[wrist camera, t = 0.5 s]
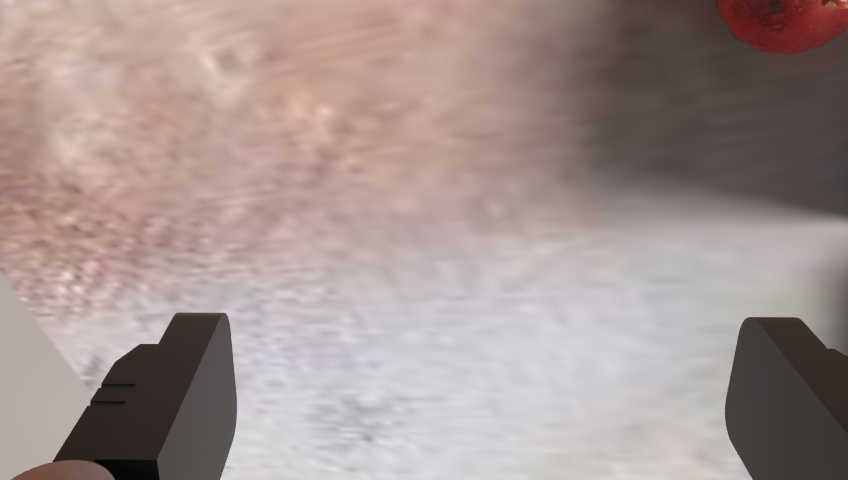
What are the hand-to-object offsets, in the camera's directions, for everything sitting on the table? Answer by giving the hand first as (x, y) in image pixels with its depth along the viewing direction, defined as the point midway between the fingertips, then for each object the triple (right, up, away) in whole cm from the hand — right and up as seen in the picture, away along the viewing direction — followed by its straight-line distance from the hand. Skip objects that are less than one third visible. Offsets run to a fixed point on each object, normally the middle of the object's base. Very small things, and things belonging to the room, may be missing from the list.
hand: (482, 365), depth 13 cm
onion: (+15, +14, +25) cm, 33 cm away
